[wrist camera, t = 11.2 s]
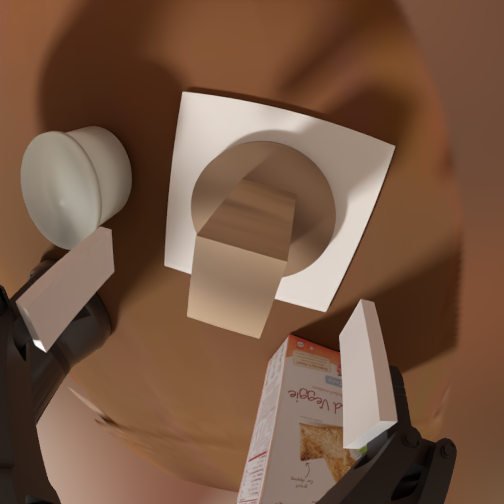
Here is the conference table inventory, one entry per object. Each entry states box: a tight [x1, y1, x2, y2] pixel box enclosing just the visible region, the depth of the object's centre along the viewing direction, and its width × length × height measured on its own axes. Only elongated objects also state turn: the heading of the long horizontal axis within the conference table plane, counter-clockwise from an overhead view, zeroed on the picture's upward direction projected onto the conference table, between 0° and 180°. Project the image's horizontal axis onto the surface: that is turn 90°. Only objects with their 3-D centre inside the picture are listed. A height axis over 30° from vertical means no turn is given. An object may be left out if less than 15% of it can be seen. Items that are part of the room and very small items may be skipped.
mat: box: [164, 92, 395, 312], centre depth 22 cm, size 16×16×1 cm
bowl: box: [21, 126, 132, 250], centre depth 20 cm, size 10×10×6 cm
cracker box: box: [236, 334, 367, 504], centre depth 21 cm, size 14×6×21 cm, turn 69°
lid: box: [187, 141, 336, 339], centre depth 17 cm, size 11×11×10 cm
